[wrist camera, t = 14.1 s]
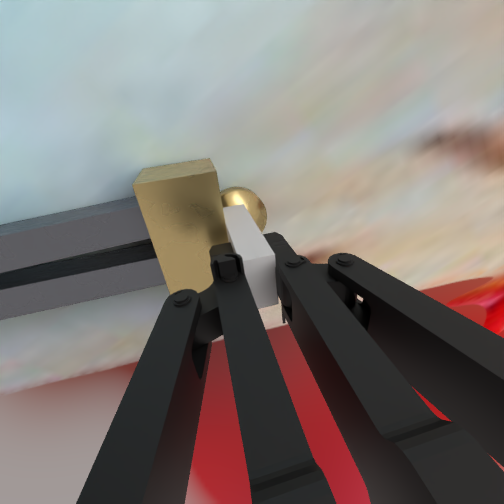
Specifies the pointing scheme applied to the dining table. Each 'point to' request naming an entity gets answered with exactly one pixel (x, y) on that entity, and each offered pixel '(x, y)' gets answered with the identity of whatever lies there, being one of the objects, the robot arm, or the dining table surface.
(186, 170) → the tan block
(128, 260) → the tongs fixed arm
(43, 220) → the tongs arm
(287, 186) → the dining table surface
